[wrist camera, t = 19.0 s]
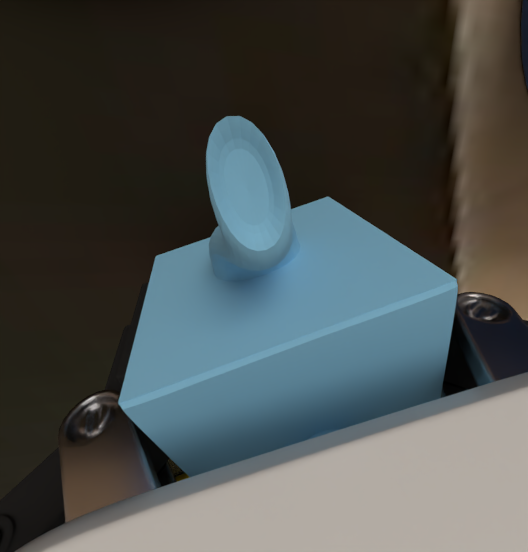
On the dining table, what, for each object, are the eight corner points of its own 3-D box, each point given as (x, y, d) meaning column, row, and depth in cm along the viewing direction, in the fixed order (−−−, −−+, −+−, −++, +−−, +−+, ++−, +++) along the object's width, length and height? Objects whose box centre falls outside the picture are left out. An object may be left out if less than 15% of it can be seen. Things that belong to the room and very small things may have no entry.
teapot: (104, 144, 8) (-242, 279, 2) (300, 80, 8) (663, -20, 2) (235, 383, 14) (266, 592, 8) (341, 344, 15) (451, 518, 8)
